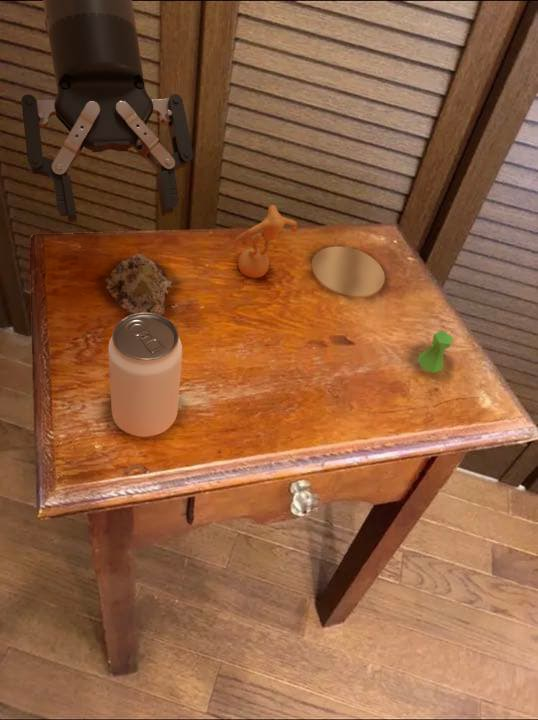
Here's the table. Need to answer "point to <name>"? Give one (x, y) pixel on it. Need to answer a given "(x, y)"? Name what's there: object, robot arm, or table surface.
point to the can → (144, 373)
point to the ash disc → (347, 272)
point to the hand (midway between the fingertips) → (121, 217)
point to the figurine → (255, 259)
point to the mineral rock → (139, 285)
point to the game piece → (435, 352)
